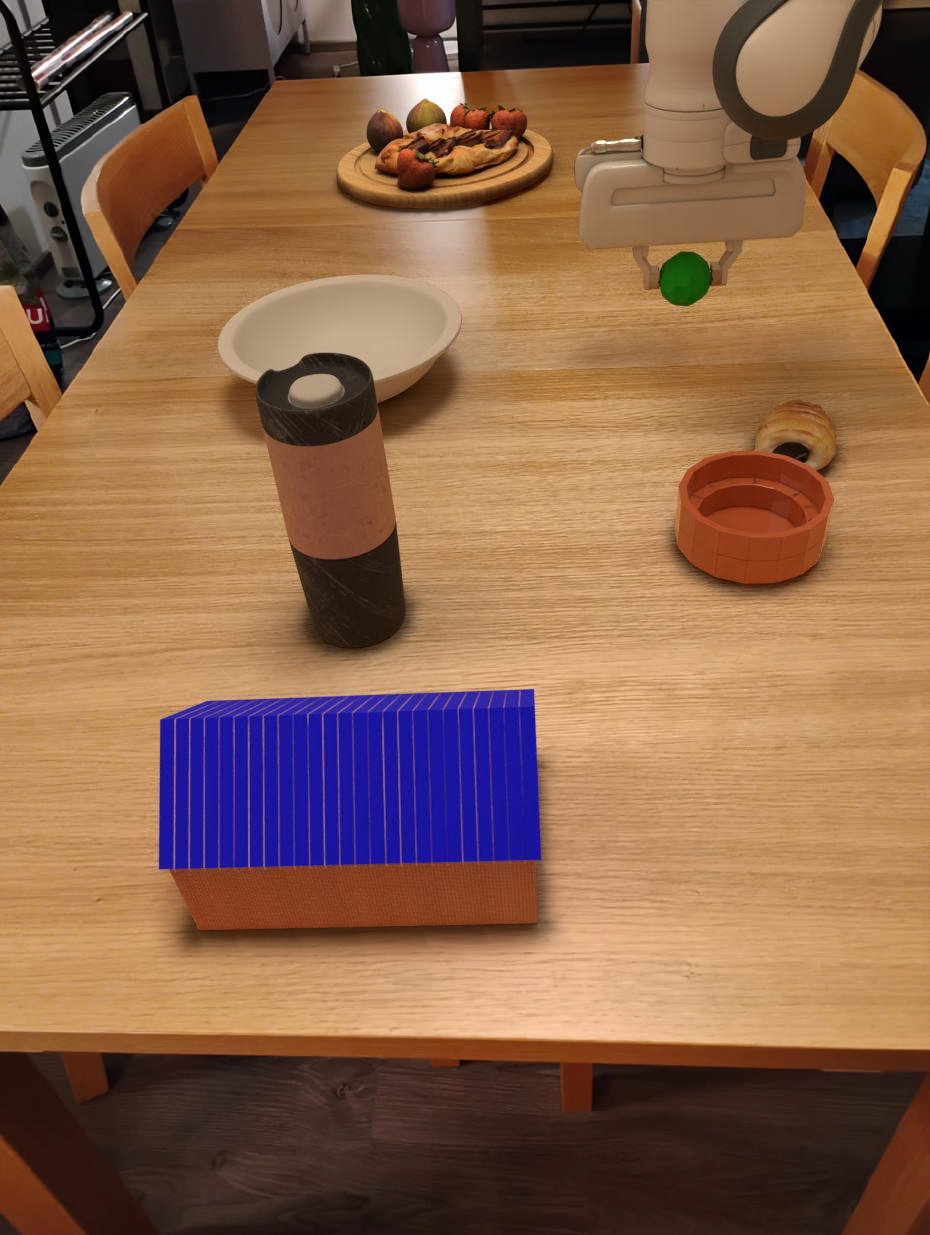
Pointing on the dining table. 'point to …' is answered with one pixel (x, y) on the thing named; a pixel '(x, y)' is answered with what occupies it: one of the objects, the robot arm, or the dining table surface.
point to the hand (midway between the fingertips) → (684, 285)
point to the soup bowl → (345, 328)
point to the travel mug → (335, 495)
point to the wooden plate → (444, 157)
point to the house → (353, 810)
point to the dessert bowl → (752, 516)
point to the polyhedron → (684, 278)
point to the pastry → (798, 433)
